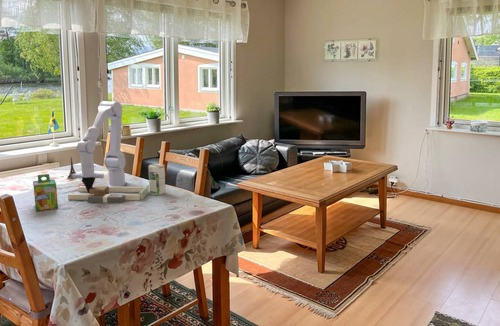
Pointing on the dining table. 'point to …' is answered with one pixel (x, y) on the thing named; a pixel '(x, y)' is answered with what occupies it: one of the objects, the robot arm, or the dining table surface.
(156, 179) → the syrup box
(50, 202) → the chalk box
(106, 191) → the walnut block
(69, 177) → the eiffel tower figurine
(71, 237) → the dining table surface
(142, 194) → the trap lane
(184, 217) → the dining table surface
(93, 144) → the robot arm
